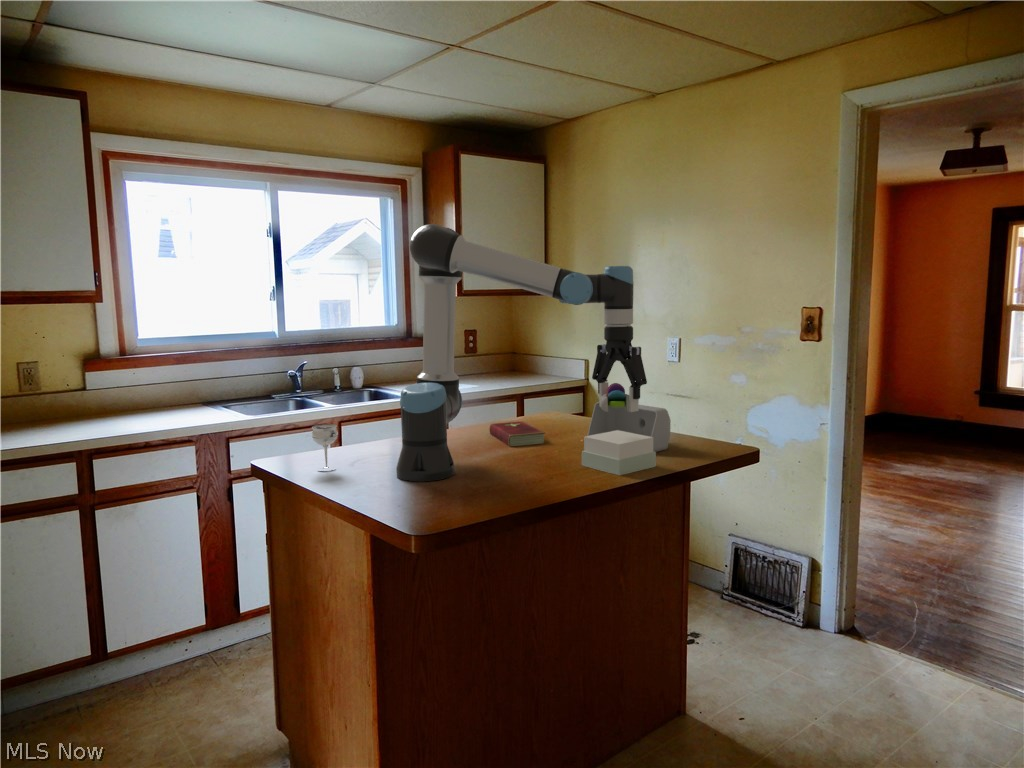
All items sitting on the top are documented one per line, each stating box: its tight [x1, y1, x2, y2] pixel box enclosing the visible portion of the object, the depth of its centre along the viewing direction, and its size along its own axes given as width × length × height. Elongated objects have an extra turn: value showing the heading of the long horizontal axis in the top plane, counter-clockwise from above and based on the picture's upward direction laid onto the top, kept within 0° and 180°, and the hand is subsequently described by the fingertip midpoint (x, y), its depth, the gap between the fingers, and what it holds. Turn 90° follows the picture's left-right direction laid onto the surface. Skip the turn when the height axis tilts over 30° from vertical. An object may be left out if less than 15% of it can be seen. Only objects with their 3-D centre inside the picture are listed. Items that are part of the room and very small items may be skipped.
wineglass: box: [311, 423, 339, 468], centre depth 188 cm, size 7×7×12 cm
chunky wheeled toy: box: [600, 382, 629, 412], centre depth 185 cm, size 8×10×7 cm
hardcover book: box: [489, 420, 546, 448], centre depth 225 cm, size 12×21×4 cm, turn 18°
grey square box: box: [581, 430, 657, 476], centre depth 187 cm, size 14×14×8 cm
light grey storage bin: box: [586, 401, 671, 453], centre depth 213 cm, size 25×16×12 cm, turn 39°
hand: (618, 408), depth 186 cm, fingers closed on chunky wheeled toy, 10 cm apart
